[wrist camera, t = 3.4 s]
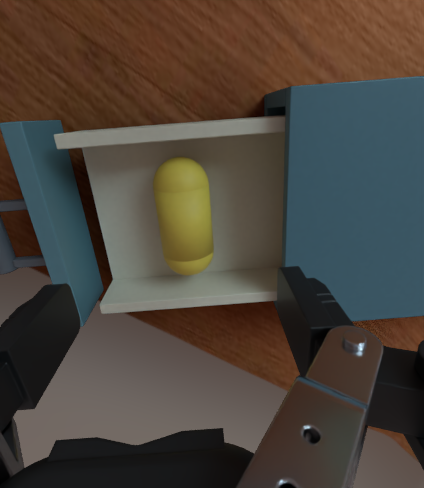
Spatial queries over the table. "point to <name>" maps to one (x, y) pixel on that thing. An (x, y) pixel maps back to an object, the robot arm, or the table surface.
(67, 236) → the drawer
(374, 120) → the cabinet
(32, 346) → the robot arm
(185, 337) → the table surface
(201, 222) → the yellow rounded capsule
